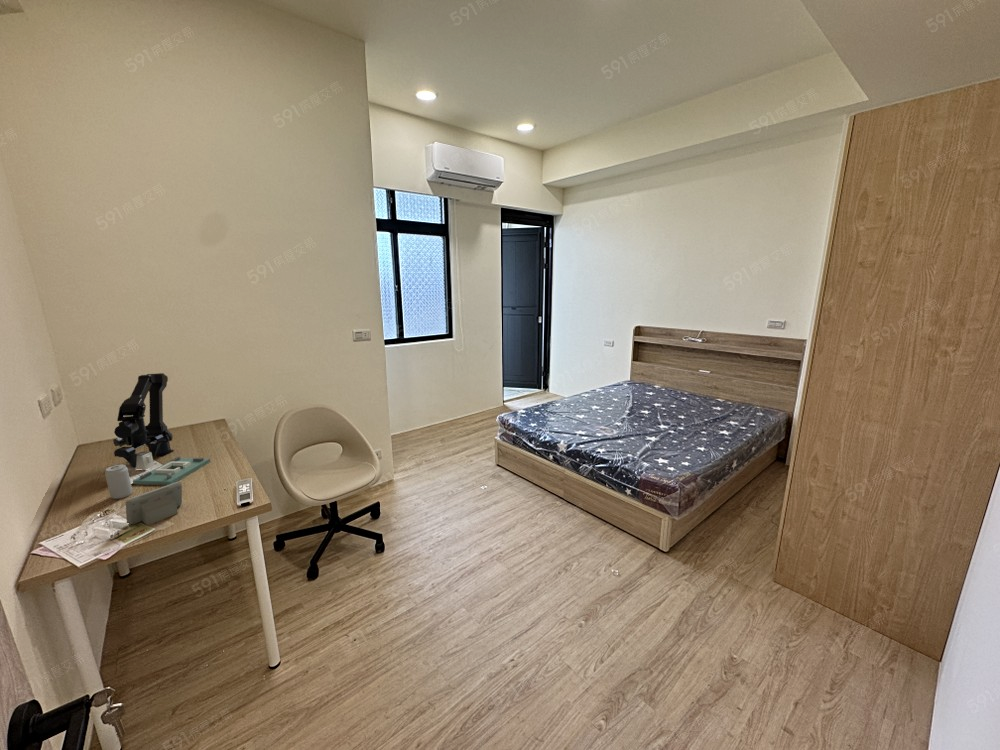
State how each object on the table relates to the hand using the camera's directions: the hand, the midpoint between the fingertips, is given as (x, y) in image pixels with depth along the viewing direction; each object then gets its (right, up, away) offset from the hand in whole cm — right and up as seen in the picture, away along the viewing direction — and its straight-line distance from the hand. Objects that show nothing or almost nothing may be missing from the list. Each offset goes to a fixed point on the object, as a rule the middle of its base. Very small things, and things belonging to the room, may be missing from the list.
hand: (143, 463), depth 180 cm
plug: (0, -3, +1) cm, 3 cm away
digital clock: (+37, -11, -36) cm, 52 cm away
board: (+16, -3, -3) cm, 17 cm away
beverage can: (+11, -8, -22) cm, 26 cm away
